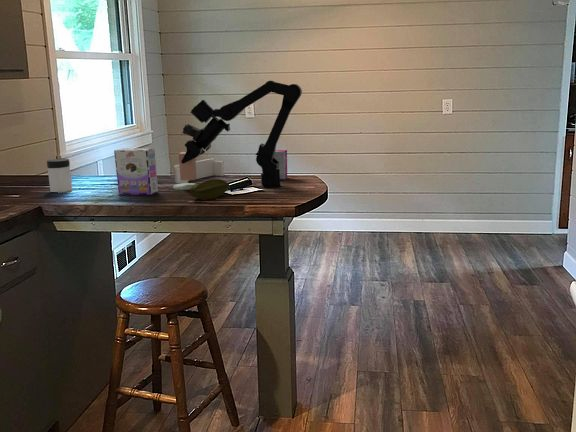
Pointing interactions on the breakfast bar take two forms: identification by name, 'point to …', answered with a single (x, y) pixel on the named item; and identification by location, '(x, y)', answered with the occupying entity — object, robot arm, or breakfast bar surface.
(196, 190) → the fruit
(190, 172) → the block
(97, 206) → the breakfast bar surface
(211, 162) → the bay
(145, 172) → the candy box
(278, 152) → the supplement box
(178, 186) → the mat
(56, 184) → the jar
